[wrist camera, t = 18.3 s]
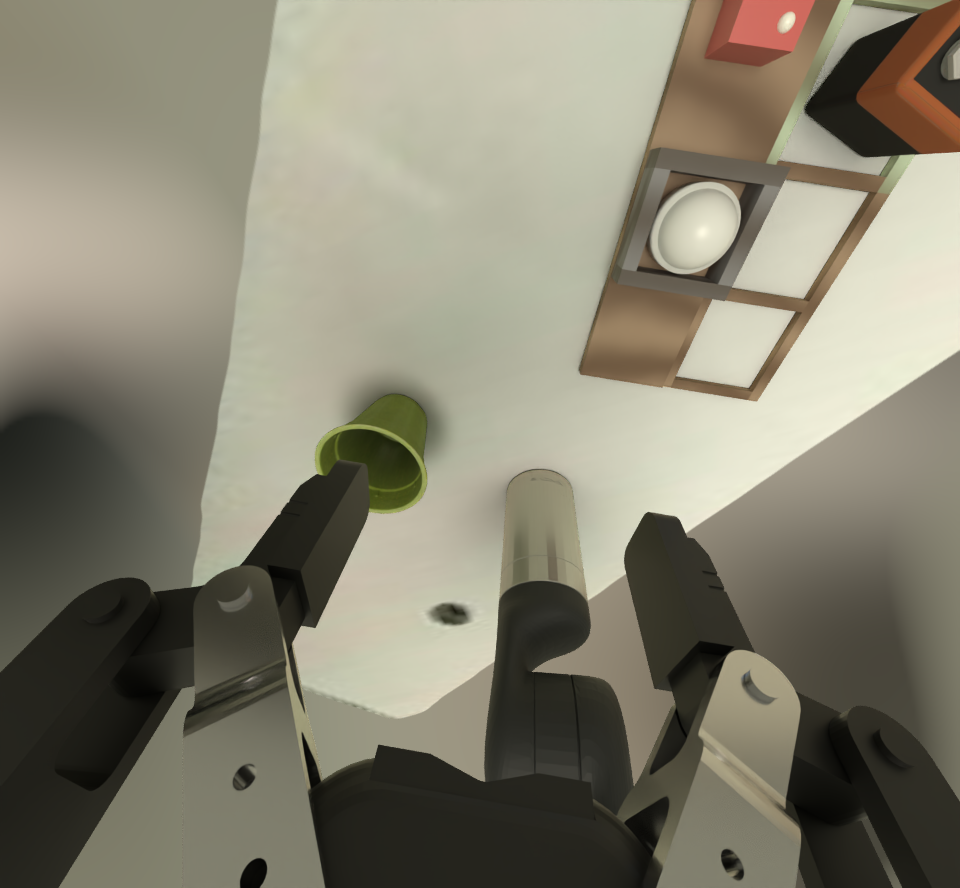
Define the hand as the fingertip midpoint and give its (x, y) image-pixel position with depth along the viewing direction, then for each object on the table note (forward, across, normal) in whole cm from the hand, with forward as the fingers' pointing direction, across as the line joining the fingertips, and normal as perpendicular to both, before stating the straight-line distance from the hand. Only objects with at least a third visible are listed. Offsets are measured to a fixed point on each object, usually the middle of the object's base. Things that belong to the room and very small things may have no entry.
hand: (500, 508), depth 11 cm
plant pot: (+32, +12, +19) cm, 39 cm away
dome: (+31, -13, -6) cm, 34 cm away
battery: (+32, -22, -15) cm, 42 cm away
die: (+31, -12, -18) cm, 38 cm away
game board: (+32, -18, -6) cm, 37 cm away
